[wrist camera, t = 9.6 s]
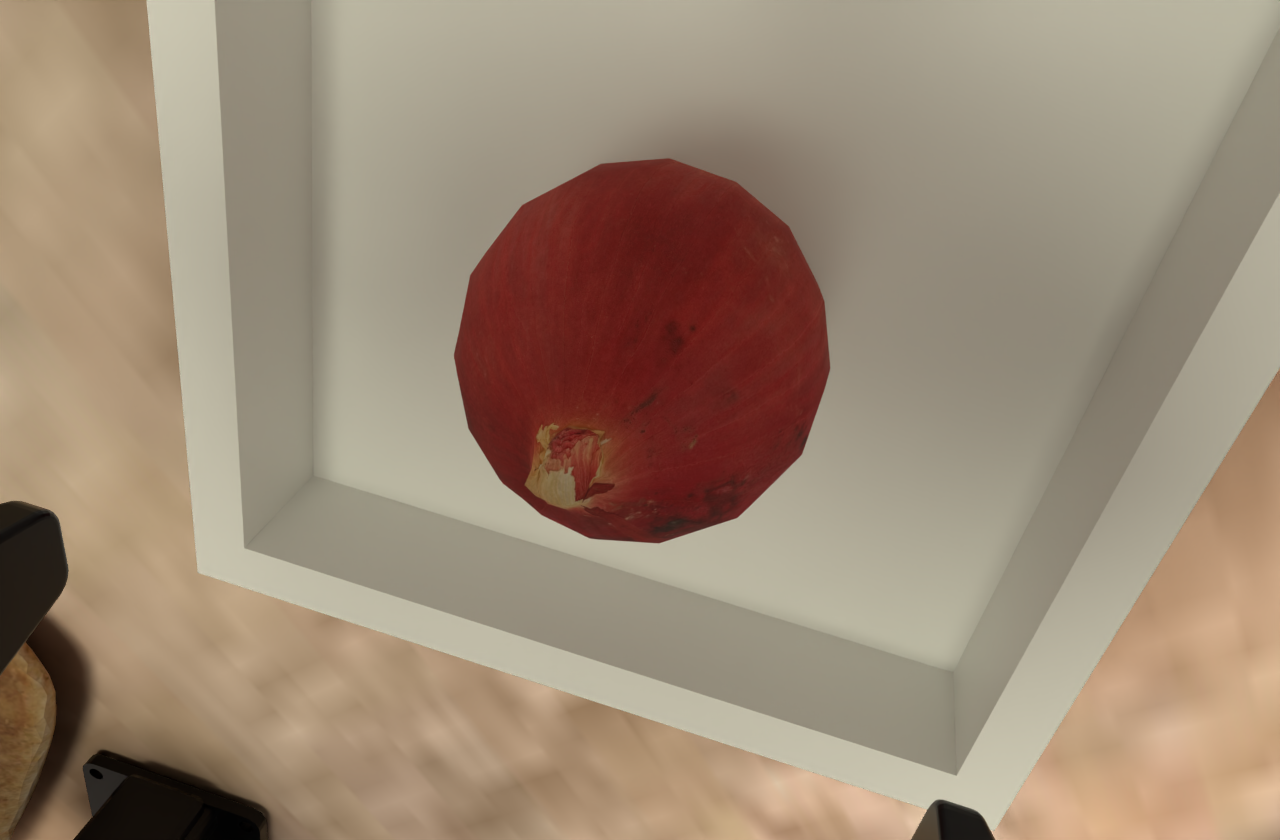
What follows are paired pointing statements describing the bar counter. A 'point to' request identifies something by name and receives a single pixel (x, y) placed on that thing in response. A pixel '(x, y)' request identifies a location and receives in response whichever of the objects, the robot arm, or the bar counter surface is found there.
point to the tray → (856, 327)
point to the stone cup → (23, 733)
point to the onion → (642, 351)
